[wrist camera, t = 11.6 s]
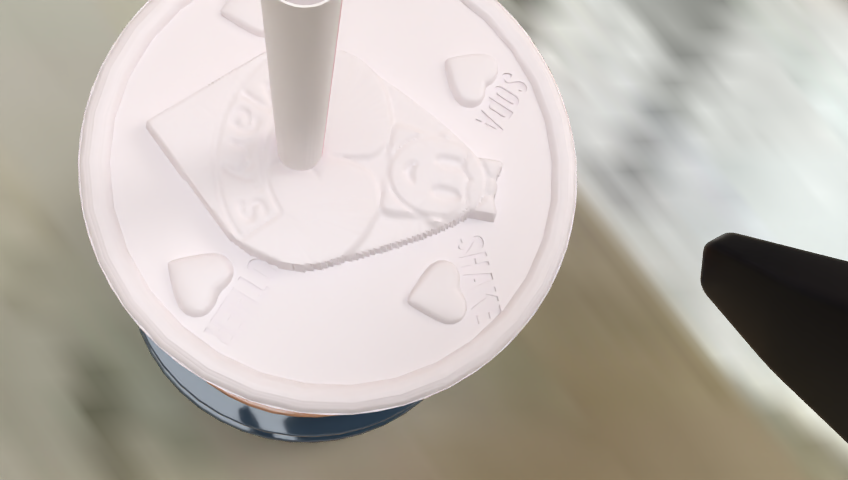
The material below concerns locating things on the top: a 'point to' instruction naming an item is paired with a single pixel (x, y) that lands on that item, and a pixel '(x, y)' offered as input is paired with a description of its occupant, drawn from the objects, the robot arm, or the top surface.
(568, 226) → the smoothie
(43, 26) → the top surface
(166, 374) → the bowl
